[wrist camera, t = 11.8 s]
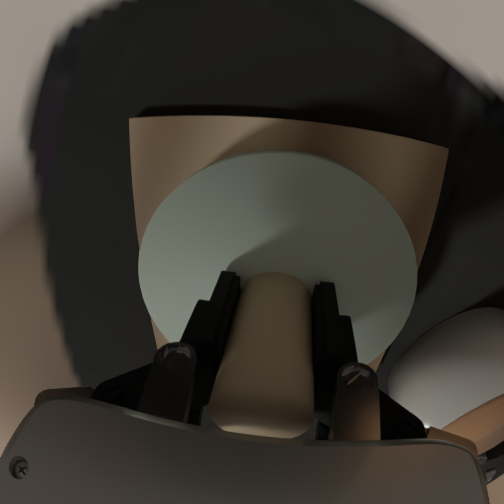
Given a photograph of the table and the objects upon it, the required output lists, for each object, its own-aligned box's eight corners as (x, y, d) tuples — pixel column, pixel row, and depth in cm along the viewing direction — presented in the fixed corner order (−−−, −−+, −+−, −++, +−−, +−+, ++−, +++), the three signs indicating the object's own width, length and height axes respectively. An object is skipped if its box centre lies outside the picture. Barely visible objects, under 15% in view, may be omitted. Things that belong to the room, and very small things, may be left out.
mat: (443, 146, 11) (448, 149, 11) (372, 368, 18) (373, 374, 17) (135, 117, 12) (129, 118, 12) (160, 343, 19) (158, 350, 19)
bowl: (536, 308, 14) (576, 367, 9) (472, 403, 19) (489, 458, 14) (423, 303, 15) (461, 391, 10) (367, 411, 20) (374, 481, 15)
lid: (440, 174, 10) (545, 254, 4) (368, 381, 16) (379, 481, 10) (136, 143, 11) (15, 198, 5) (164, 357, 17) (123, 450, 11)
